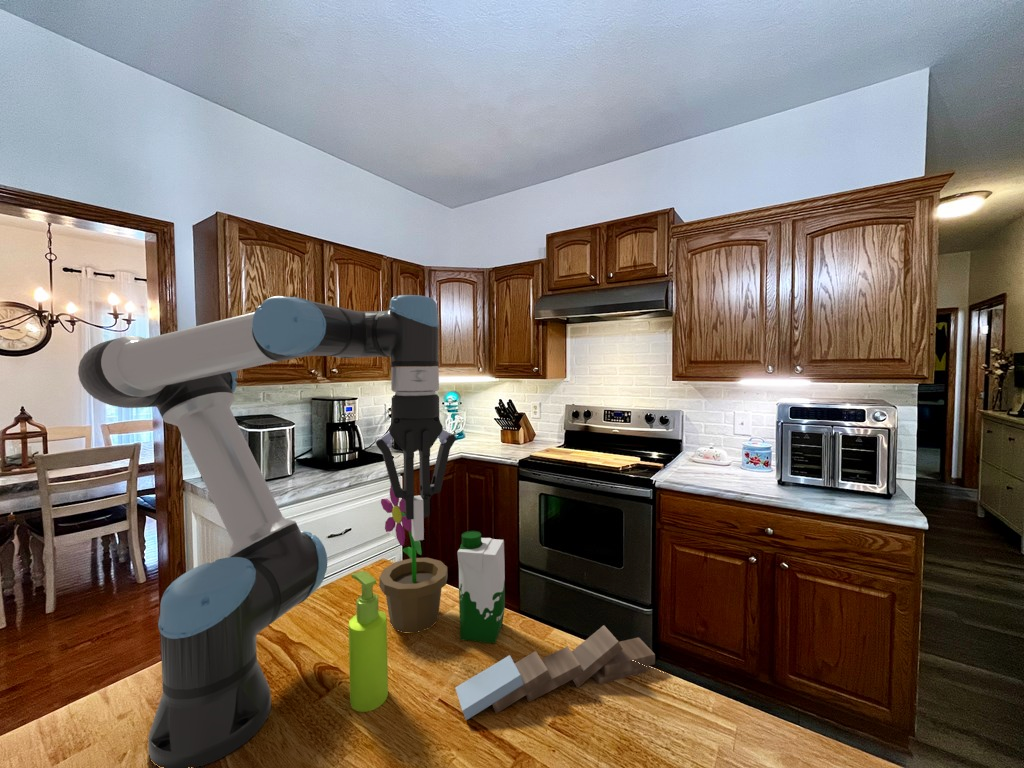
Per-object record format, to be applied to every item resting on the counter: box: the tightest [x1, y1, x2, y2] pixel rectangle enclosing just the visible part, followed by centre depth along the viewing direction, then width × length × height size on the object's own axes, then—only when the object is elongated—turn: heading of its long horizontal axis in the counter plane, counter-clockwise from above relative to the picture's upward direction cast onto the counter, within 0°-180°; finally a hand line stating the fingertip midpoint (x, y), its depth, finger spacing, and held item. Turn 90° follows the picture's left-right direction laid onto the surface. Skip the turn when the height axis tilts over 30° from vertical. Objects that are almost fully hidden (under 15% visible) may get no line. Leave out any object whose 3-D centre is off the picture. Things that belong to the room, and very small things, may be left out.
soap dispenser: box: [348, 570, 389, 712], centre depth 70 cm, size 6×7×20 cm
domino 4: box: [571, 624, 623, 688], centre depth 76 cm, size 2×5×10 cm
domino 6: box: [591, 666, 649, 685], centre depth 77 cm, size 2×5×10 cm
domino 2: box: [492, 650, 551, 715], centre depth 71 cm, size 2×5×10 cm
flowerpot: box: [378, 486, 448, 633], centre depth 92 cm, size 14×14×30 cm
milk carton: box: [456, 530, 506, 644], centre depth 88 cm, size 9×9×20 cm
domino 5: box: [600, 637, 656, 677], centre depth 77 cm, size 2×5×10 cm
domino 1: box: [454, 654, 524, 721], centre depth 69 cm, size 2×5×10 cm
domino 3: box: [524, 645, 583, 703], centre depth 73 cm, size 2×5×10 cm
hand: (417, 537), depth 70 cm, fingers closed
